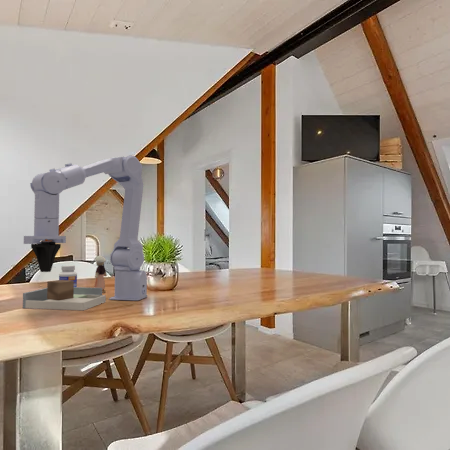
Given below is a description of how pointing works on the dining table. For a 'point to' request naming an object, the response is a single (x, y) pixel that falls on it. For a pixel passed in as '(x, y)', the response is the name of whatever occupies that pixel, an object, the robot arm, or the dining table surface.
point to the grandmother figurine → (100, 273)
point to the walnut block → (60, 289)
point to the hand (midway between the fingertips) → (45, 271)
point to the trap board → (80, 300)
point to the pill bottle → (68, 274)
